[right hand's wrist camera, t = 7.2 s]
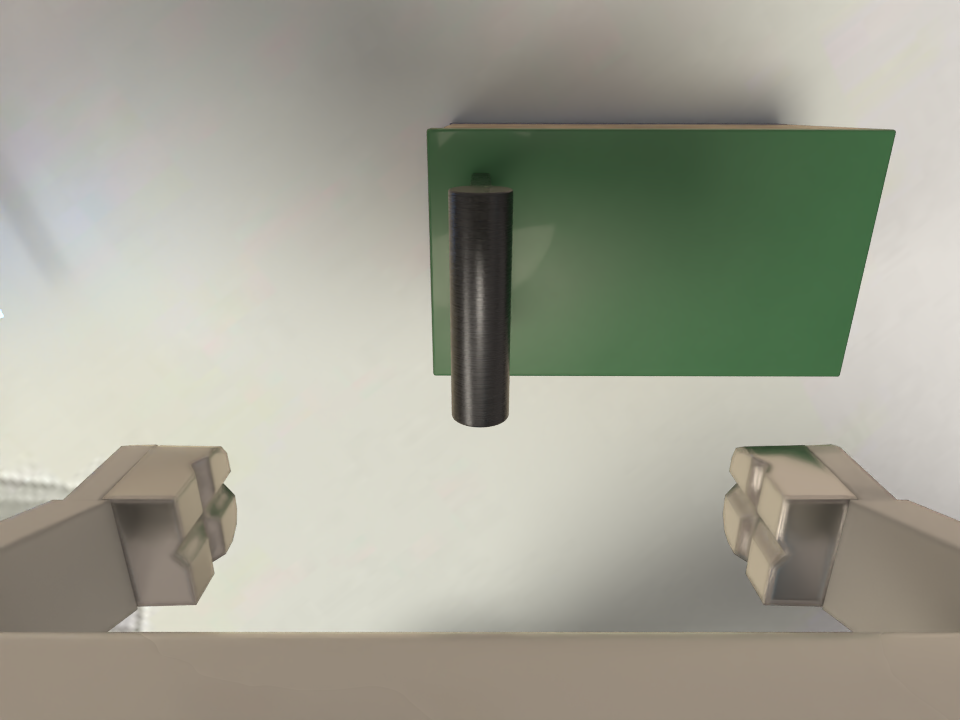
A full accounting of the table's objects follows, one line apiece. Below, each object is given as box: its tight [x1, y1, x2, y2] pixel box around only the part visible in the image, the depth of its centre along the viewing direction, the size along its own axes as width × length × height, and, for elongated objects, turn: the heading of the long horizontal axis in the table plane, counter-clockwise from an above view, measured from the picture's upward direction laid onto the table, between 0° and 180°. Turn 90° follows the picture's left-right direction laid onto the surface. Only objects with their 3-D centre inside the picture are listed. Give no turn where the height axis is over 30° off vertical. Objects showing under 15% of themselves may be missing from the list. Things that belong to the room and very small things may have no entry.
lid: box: [427, 128, 896, 427], centre depth 22 cm, size 17×10×9 cm, turn 90°
